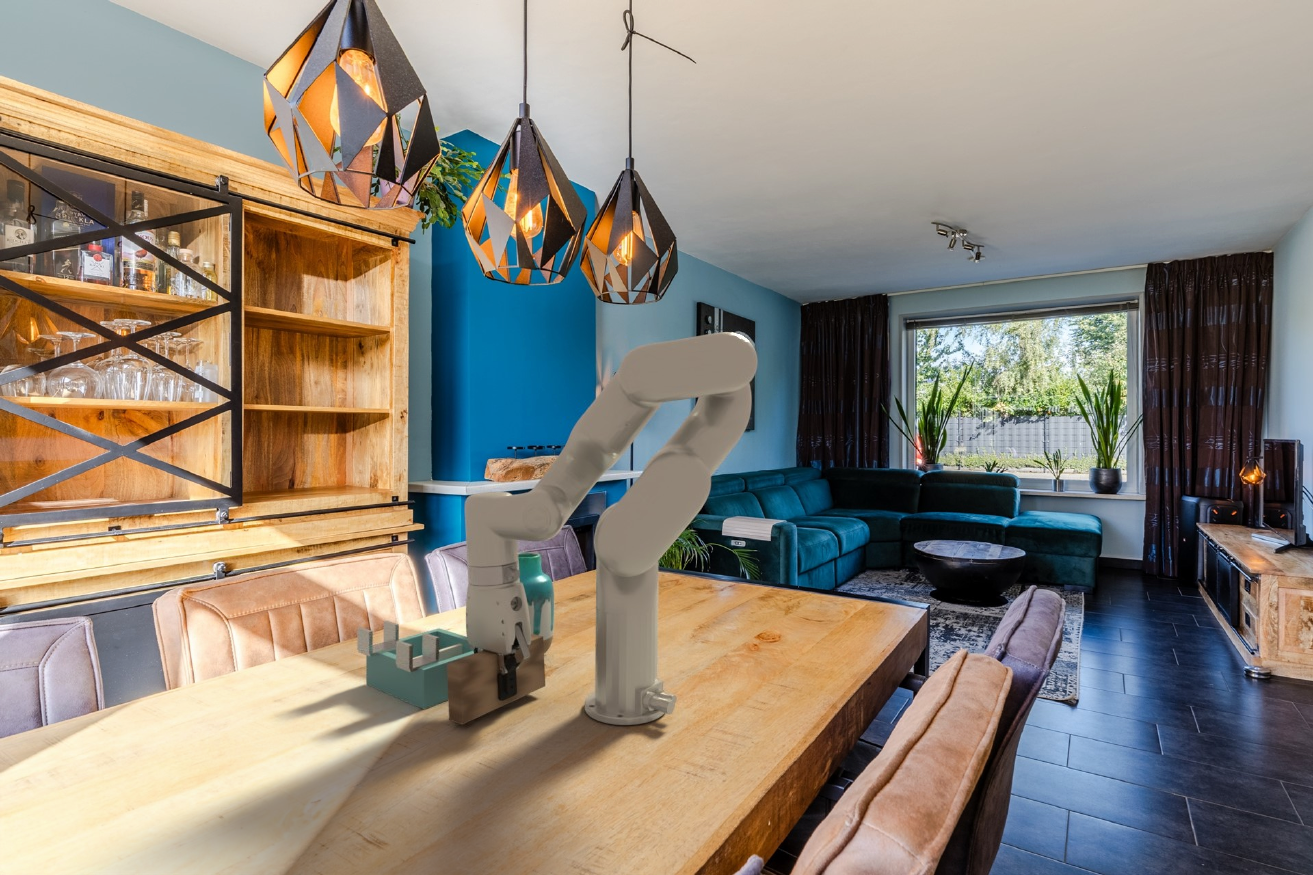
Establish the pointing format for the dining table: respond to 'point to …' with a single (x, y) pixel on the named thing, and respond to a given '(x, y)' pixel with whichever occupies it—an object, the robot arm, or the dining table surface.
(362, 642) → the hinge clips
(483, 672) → the door
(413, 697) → the box
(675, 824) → the dining table surface
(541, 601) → the vase
